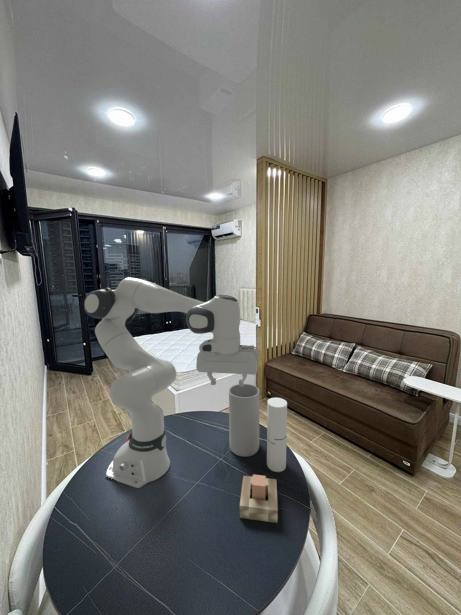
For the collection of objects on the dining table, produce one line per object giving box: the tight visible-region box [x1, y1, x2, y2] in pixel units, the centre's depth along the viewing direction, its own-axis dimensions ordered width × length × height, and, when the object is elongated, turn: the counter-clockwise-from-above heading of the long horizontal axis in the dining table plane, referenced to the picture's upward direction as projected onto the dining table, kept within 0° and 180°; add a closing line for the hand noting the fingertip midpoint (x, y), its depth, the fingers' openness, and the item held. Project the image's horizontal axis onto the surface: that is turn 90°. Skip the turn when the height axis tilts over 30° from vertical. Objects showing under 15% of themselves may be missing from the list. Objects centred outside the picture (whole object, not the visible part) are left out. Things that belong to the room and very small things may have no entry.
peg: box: [251, 473, 267, 501], centre depth 75 cm, size 4×4×8 cm
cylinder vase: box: [228, 383, 260, 457], centre depth 100 cm, size 12×12×25 cm
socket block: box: [239, 475, 279, 524], centre depth 76 cm, size 11×11×4 cm
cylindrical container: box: [266, 397, 288, 473], centre depth 90 cm, size 7×7×25 cm
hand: (227, 385), depth 80 cm, fingers open, 8 cm apart
